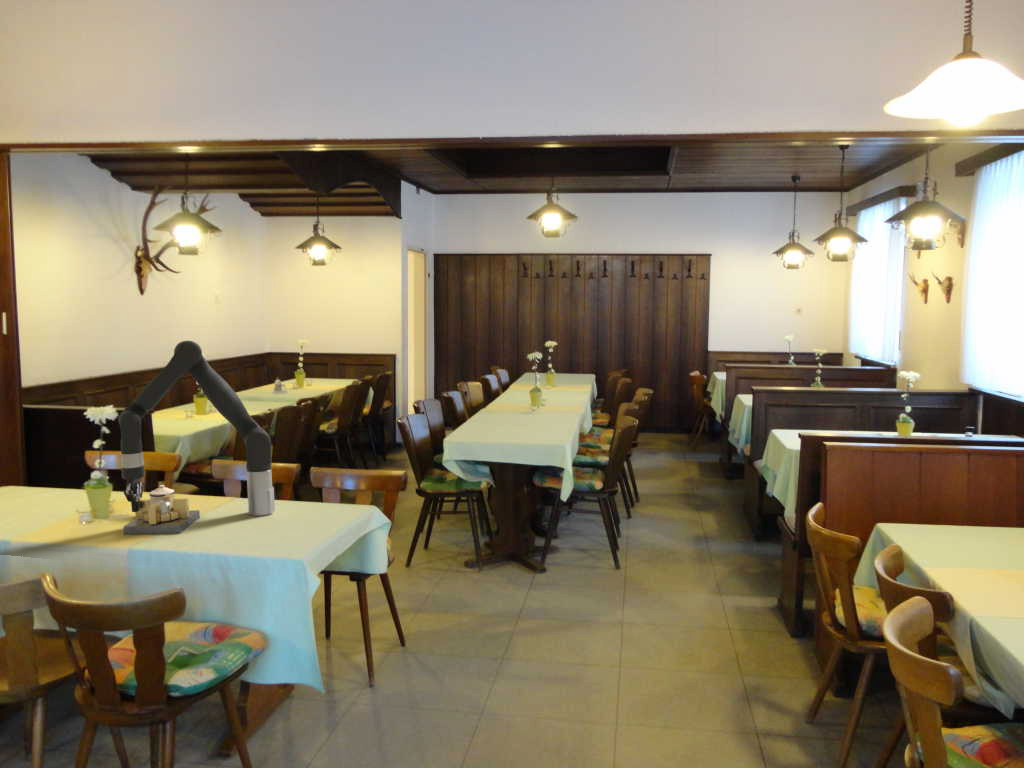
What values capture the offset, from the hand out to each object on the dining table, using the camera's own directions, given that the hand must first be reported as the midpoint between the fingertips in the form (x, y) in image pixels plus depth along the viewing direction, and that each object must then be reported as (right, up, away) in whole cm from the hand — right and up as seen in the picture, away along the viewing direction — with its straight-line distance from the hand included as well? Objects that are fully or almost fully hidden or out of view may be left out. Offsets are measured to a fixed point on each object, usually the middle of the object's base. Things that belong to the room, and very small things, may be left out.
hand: (135, 511), depth 292 cm
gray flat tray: (+8, -6, +5) cm, 11 cm away
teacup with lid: (+1, -5, +22) cm, 23 cm away
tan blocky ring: (+8, -3, +4) cm, 9 cm away
